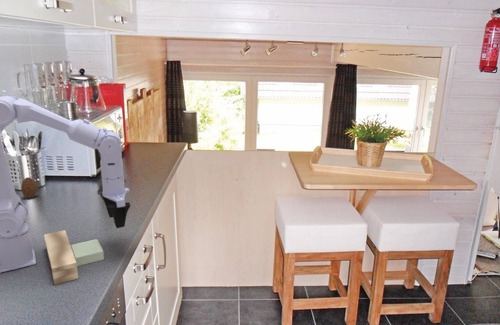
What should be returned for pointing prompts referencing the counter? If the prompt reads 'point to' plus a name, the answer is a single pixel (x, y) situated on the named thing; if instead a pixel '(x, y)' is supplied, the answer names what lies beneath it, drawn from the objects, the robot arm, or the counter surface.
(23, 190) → the coconut
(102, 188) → the phone
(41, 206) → the counter surface
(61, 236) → the overhang shelf
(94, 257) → the pale green slab
